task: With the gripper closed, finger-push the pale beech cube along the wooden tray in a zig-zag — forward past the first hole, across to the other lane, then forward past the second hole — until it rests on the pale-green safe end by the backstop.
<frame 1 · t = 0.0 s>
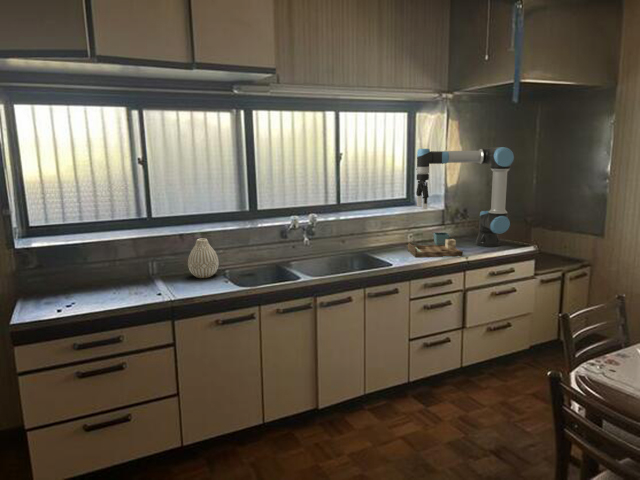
hand: (422, 207, 308), 28 cm above the counter, fingers open, 13 cm apart
wooden tray: (434, 253, 305), on the counter
block: (450, 247, 310), point 2 cm above the counter, touching wooden tray
flower pot: (440, 247, 324), on the counter
vase: (204, 276, 260), on the counter
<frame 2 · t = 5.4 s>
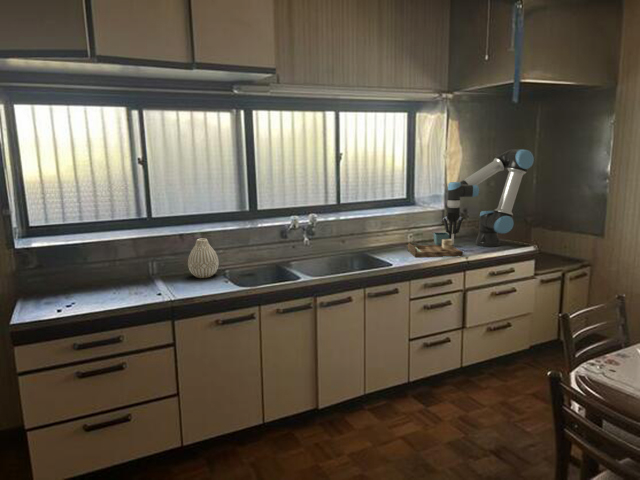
hand: (451, 243, 309), 5 cm above the counter, fingers closed
block: (446, 247, 309), point 3 cm above the counter, touching gripper
everything else where it was.
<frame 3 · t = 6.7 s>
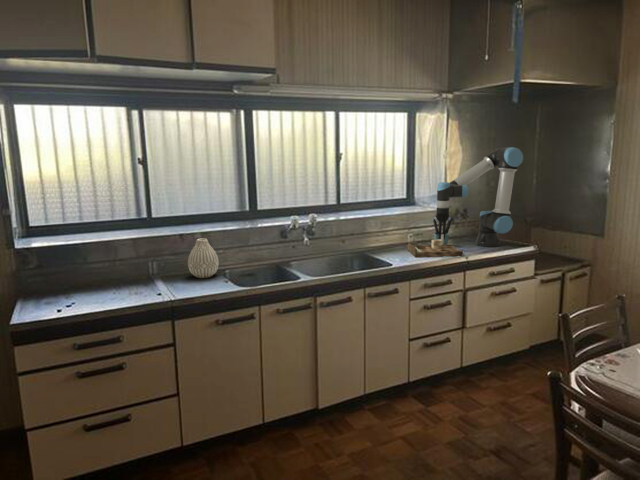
hand: (441, 244, 309), 5 cm above the counter, fingers closed
block: (436, 247, 309), point 3 cm above the counter, touching gripper, wooden tray
everything else where it was.
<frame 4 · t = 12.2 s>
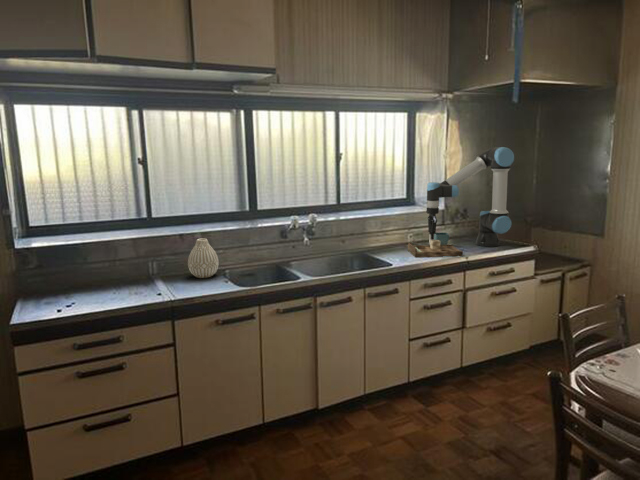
hand: (431, 243, 310), 5 cm above the counter, fingers closed
block: (435, 248, 308), point 3 cm above the counter, touching gripper
everything else where it was.
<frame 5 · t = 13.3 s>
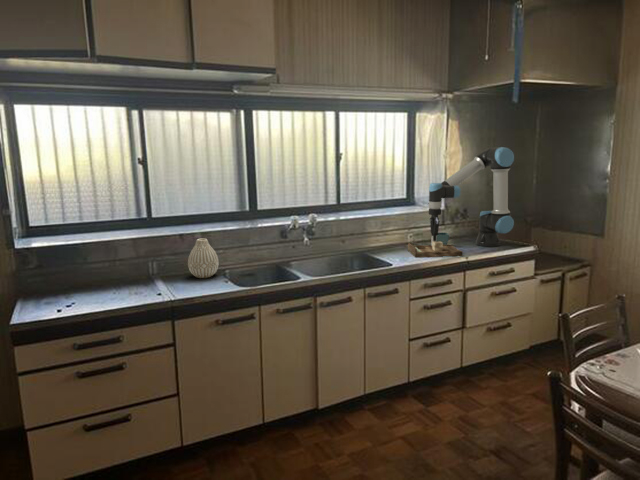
hand: (433, 245, 305), 5 cm above the counter, fingers closed
block: (437, 250, 303), point 3 cm above the counter, touching gripper
everything else where it was.
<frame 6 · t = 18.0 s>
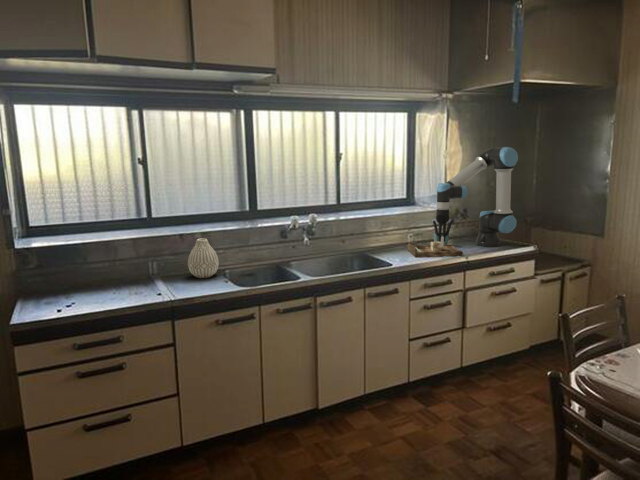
hand: (441, 246, 301), 5 cm above the counter, fingers closed
block: (435, 250, 302), point 3 cm above the counter
everything else where it was.
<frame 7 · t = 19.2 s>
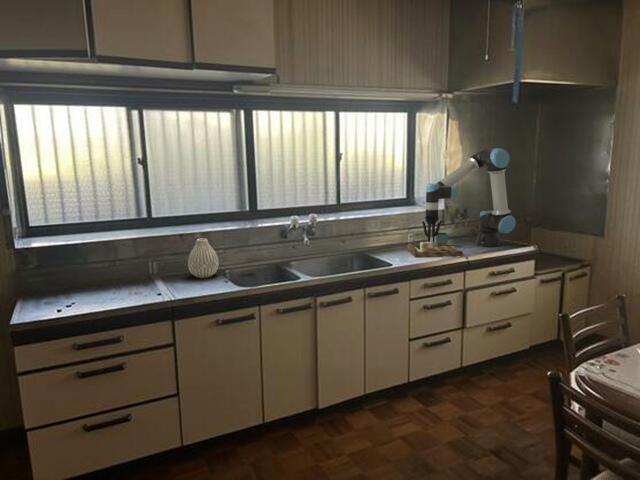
hand: (430, 247, 300), 5 cm above the counter, fingers closed
block: (425, 250, 302), point 3 cm above the counter, touching gripper, wooden tray
everything else where it was.
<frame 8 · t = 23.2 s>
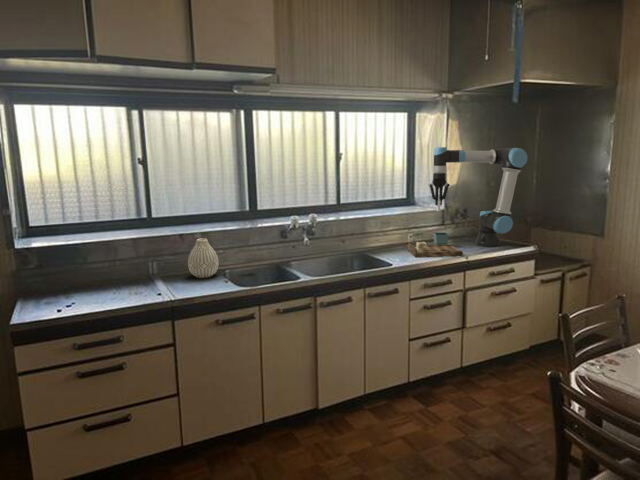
hand: (438, 210, 304), 26 cm above the counter, fingers closed
block: (421, 250, 302), point 2 cm above the counter, touching wooden tray
everything else where it was.
at the end: block inside the target area on the wooden tray (2.3 cm from its centre), point 2.5 cm above the wooden tray's base; block tilted 0° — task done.
